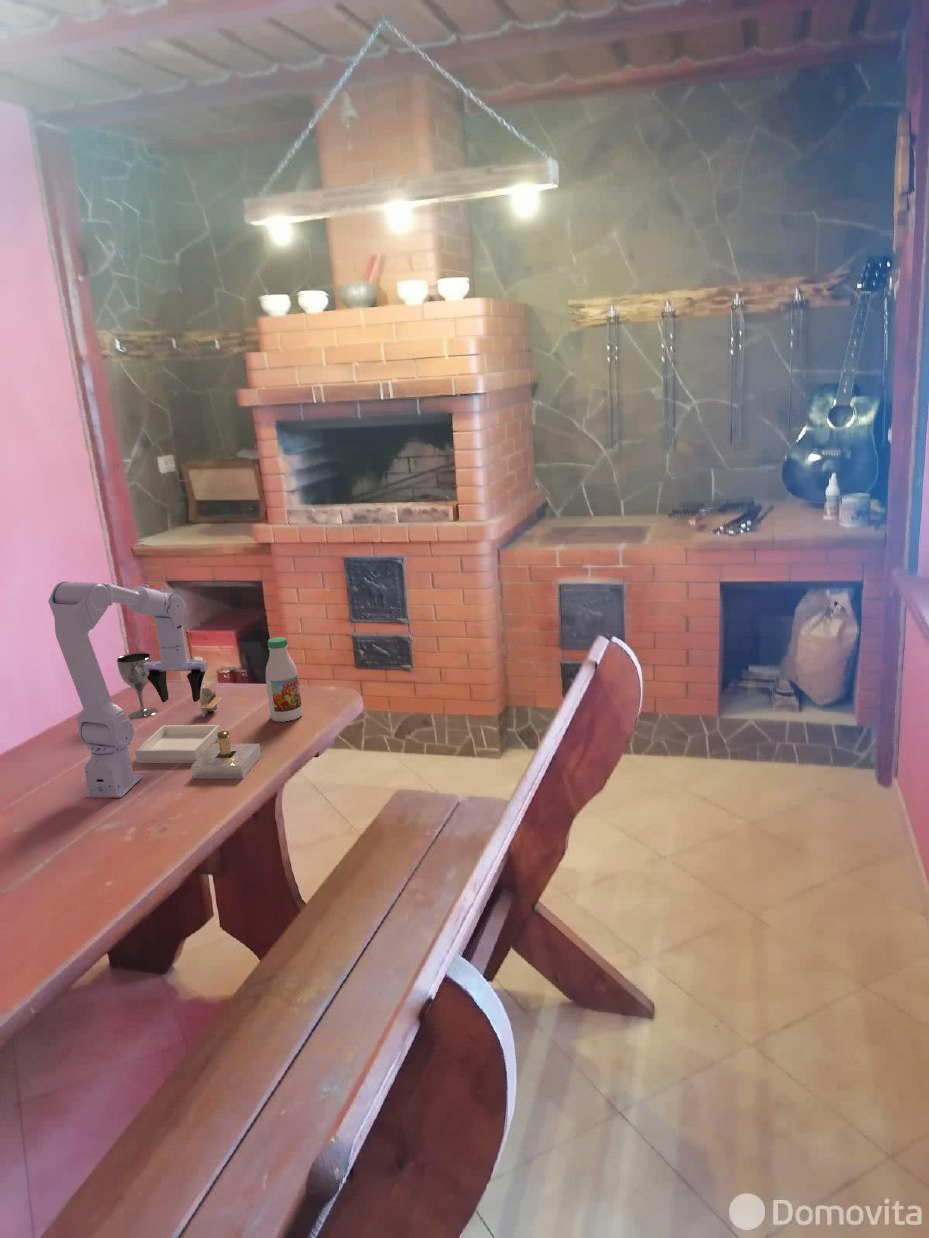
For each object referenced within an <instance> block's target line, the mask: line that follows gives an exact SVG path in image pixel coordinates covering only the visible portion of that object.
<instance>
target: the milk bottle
mask: <svg viewBox="0 0 929 1238" xmlns="http://www.w3.org/2000/svg"><path fill="white" fill-rule="evenodd" d="M288 646H289V645H288V639H287V637H285V636H276V637H272V638H269V639H268V640H267V647H268V648H267V649H268V650H269V657H268V660H267V663H266V666H265V667H266V668H265V684H266V691H267V698H268V699H267V701H268V709H269V714H270V718H271V720H272V721H273V722H278V723H286V721H288V722H291V721H290V720H292V721H295V720H297V718H298V719H300V718H301V717H302V715H303V707H302V697H301V690H300V683H299V675H298V670H297V669H298V668H297V666H296V664H295V662H294V660H293V659H292V657H291V655H290V653H289V652H288V651H289V650H288ZM300 716H301V717H300ZM294 719H295V720H294Z"/></svg>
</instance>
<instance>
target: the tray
mask: <svg viewBox="0 0 929 1238" xmlns="http://www.w3.org/2000/svg"><path fill="white" fill-rule="evenodd" d="M221 731H222V730H221V726H220V724H191V725H190V724H179V725H178V724H177V725H176V724H175V725H172V724H171V725H168V724H167V725H164V724H163V725H162V726H161V727H160V728H159V729H157V730H156V731H155V732H154V733H153V734H152V735H151V736H149V738H148V739H147V738H146V740H145V741H144V742H143V743H142V744H141V745H139V746H138V747H137V748H136V749H135V750H134V754H135V759H136V763H137V764H193V763H194V762H195V761H196V760H197V759H198V758H199V757H200V756H201V755H202V754H203V753H204V752H205V751H206V750H207V749H208V748H209V747H210V745H211V744H217V742H218V735H217V733H219V732H221Z"/></svg>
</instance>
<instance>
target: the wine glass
mask: <svg viewBox="0 0 929 1238" xmlns="http://www.w3.org/2000/svg"><path fill="white" fill-rule="evenodd" d="M146 662H152V658H151V654H150V653H149V652H146V651H145V652H143V651H142V652H132V653H127V654H123V655H121V656H119V657H117V659H116V663H117V668H118V672H119V675H120V676H121V679H122V680H123V682H124V683H125V684H127V686H129V687H130V688H131V689H132V690H134V691H135V693H136V695H137V697H138V701H139V705H140V708H139V709H135V710H133V711H131V712H129V713H128V718H129V719H135V720H136V719H144V718H149V717H151V716H154V715H155V714H157V713H158V711H159V710H158V708H156V707H144V700H143V699H144V698H143V692H144V688H145V687H146V684H148V682H149V680H148V678H147V676H148V675H149V672H148V673H145V672H144V667H143V665H144V664H145V663H146Z"/></svg>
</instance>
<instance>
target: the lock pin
mask: <svg viewBox="0 0 929 1238" xmlns="http://www.w3.org/2000/svg"><path fill="white" fill-rule="evenodd" d="M220 731H221V732H219V733H217V735H218V741H217V742H218V744H219V749H220V755H221V758H232V751H231V744H232V743H231V739H230V732H229V730H220Z"/></svg>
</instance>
